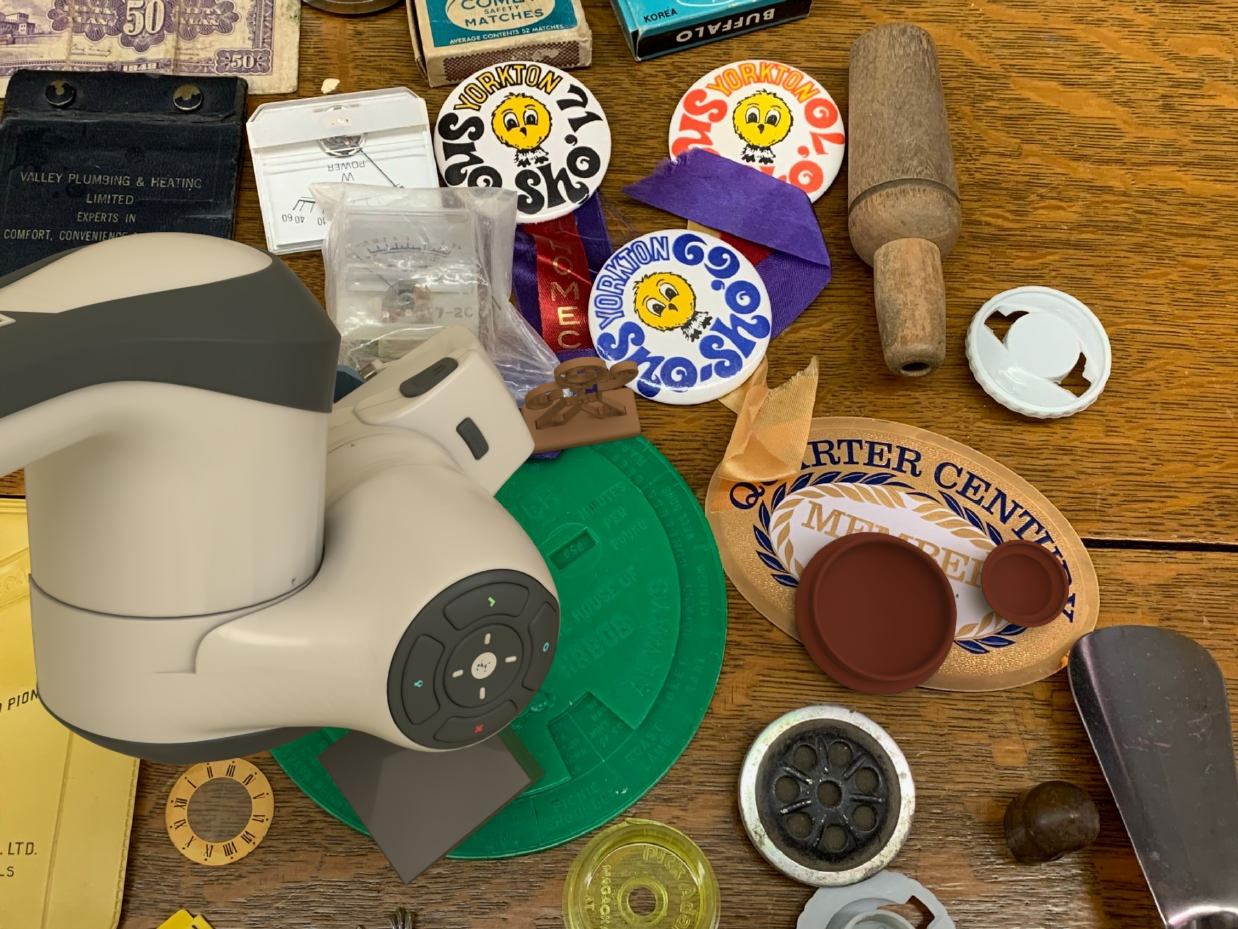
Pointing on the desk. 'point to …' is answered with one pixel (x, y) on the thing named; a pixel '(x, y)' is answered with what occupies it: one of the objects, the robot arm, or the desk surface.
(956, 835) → the desk surface
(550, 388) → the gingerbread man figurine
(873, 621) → the pottery
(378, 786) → the stand
